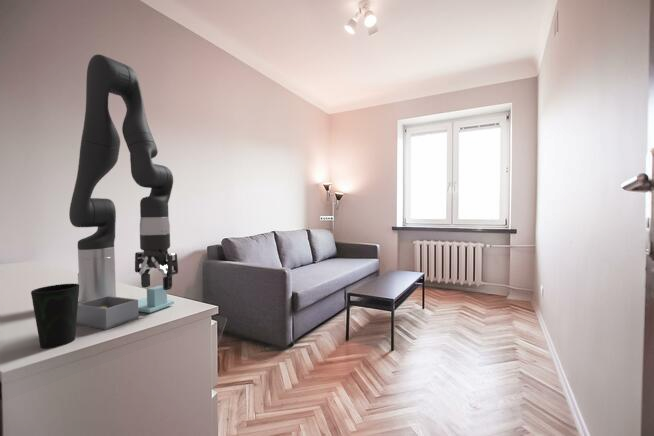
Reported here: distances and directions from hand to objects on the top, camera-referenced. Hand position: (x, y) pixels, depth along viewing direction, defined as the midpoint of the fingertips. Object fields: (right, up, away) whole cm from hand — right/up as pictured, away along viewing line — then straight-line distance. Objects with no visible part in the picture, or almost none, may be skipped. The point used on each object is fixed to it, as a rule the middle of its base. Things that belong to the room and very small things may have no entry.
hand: (156, 288), depth 84 cm
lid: (-3, -6, +1) cm, 7 cm away
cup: (-9, -7, -21) cm, 24 cm away
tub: (-7, -6, -9) cm, 13 cm away
